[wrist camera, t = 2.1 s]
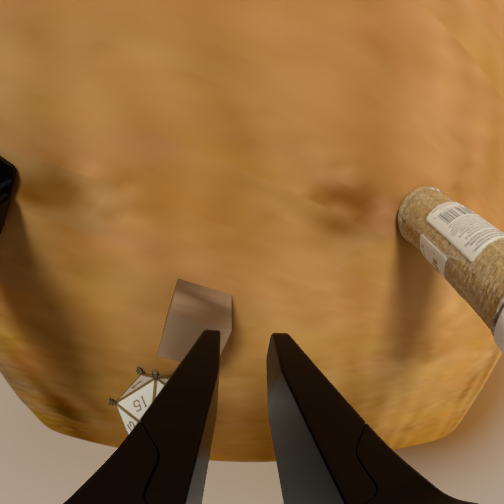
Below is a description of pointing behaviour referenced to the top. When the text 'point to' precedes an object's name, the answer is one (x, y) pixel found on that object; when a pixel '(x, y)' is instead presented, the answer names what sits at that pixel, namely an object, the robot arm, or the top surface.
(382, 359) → the top surface
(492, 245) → the sprinkles bottle
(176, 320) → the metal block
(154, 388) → the game die
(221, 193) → the top surface
